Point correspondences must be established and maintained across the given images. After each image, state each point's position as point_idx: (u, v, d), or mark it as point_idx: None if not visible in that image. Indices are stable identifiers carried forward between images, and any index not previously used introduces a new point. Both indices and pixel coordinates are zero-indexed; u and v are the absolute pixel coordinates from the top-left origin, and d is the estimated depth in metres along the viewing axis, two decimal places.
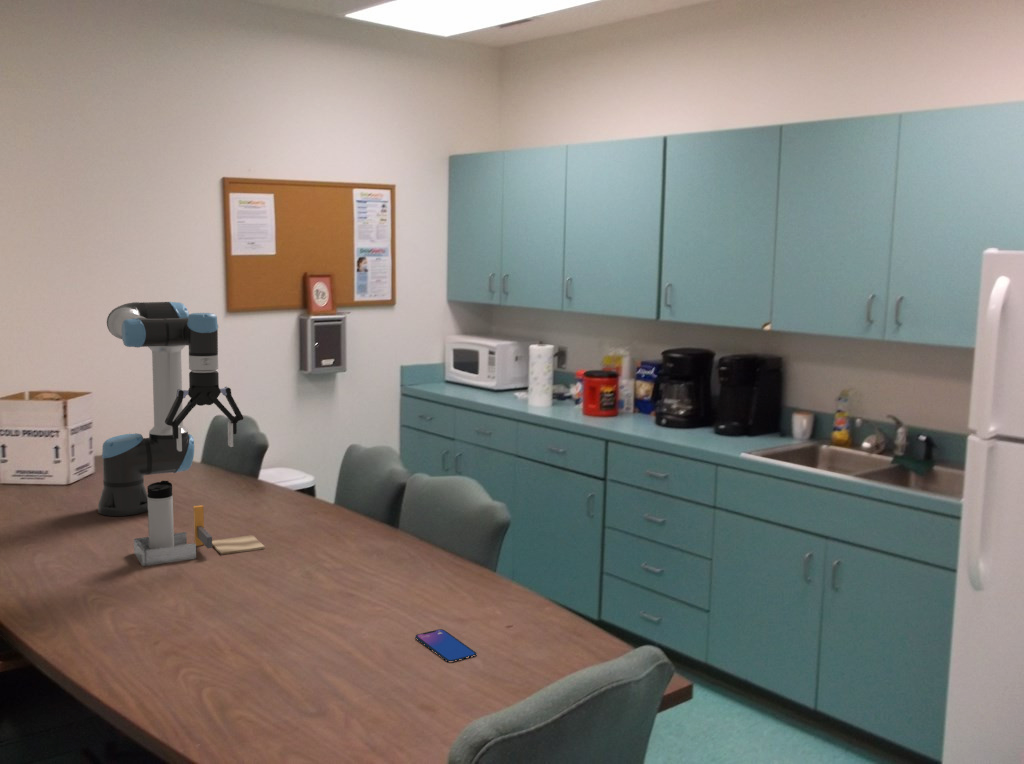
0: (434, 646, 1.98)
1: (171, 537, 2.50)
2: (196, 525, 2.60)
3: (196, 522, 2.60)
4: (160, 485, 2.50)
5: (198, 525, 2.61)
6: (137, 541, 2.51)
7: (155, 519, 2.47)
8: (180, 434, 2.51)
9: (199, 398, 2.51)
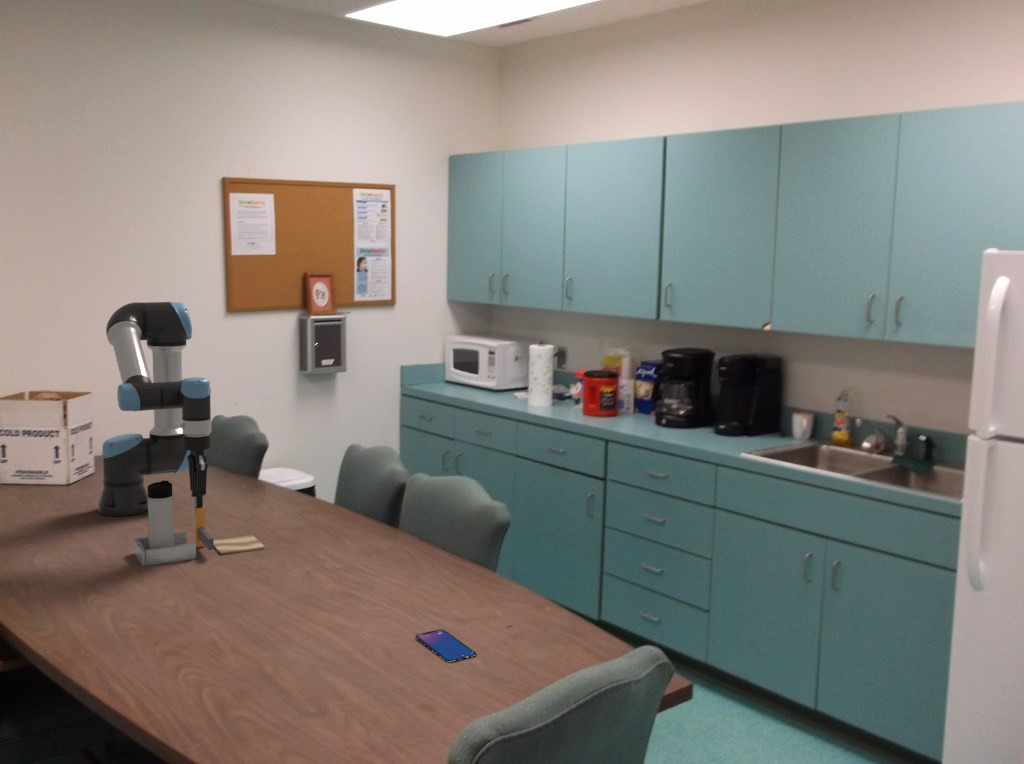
0: (434, 646, 1.98)
1: (171, 537, 2.50)
2: (197, 526, 2.59)
3: (197, 523, 2.59)
4: (160, 485, 2.50)
5: (199, 526, 2.59)
6: (137, 541, 2.51)
7: (155, 519, 2.47)
8: (193, 502, 2.60)
9: (189, 460, 2.59)
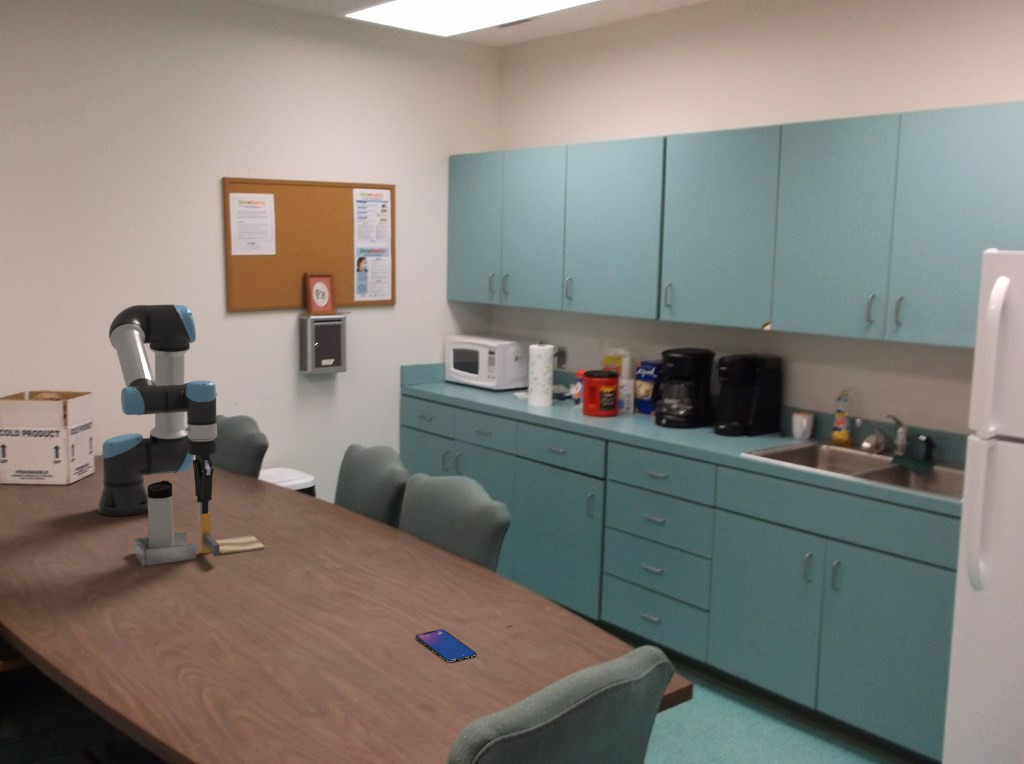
0: (434, 646, 1.98)
1: (171, 537, 2.50)
2: (203, 532, 2.54)
3: (203, 529, 2.54)
4: (160, 485, 2.50)
5: (205, 532, 2.54)
6: (137, 541, 2.51)
7: (155, 519, 2.47)
8: (198, 508, 2.55)
9: (194, 465, 2.54)
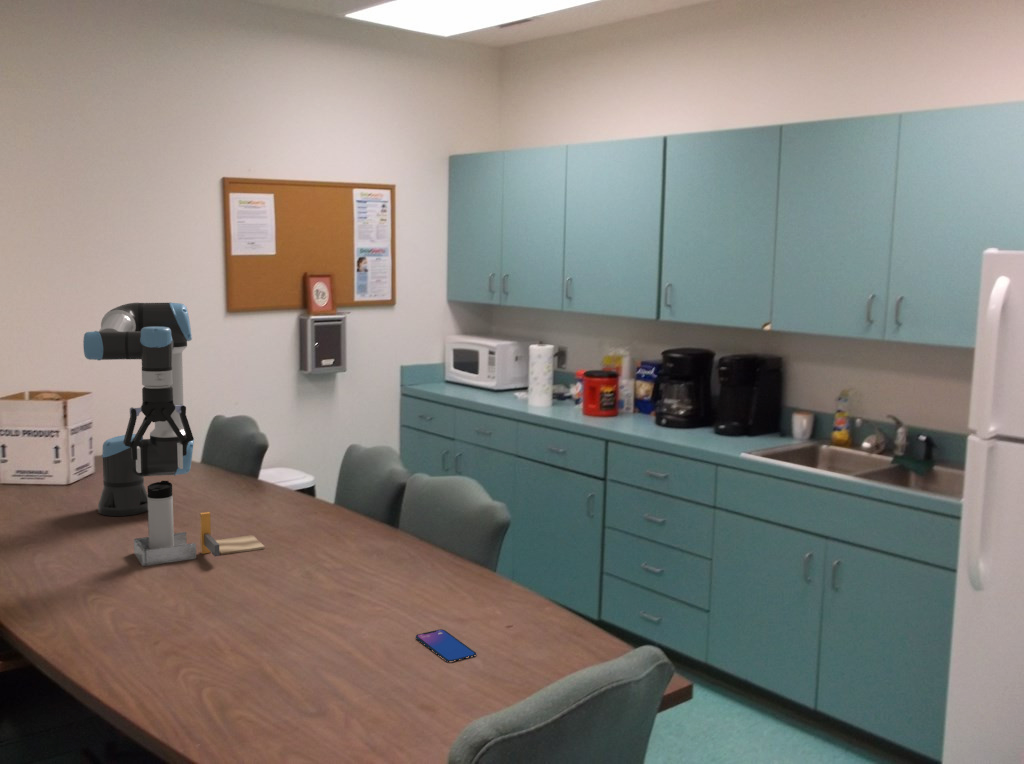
0: (434, 646, 1.98)
1: (171, 537, 2.50)
2: (203, 532, 2.54)
3: (203, 529, 2.54)
4: (160, 485, 2.50)
5: (205, 532, 2.54)
6: (137, 541, 2.51)
7: (155, 519, 2.47)
8: (139, 455, 2.44)
9: (153, 415, 2.44)
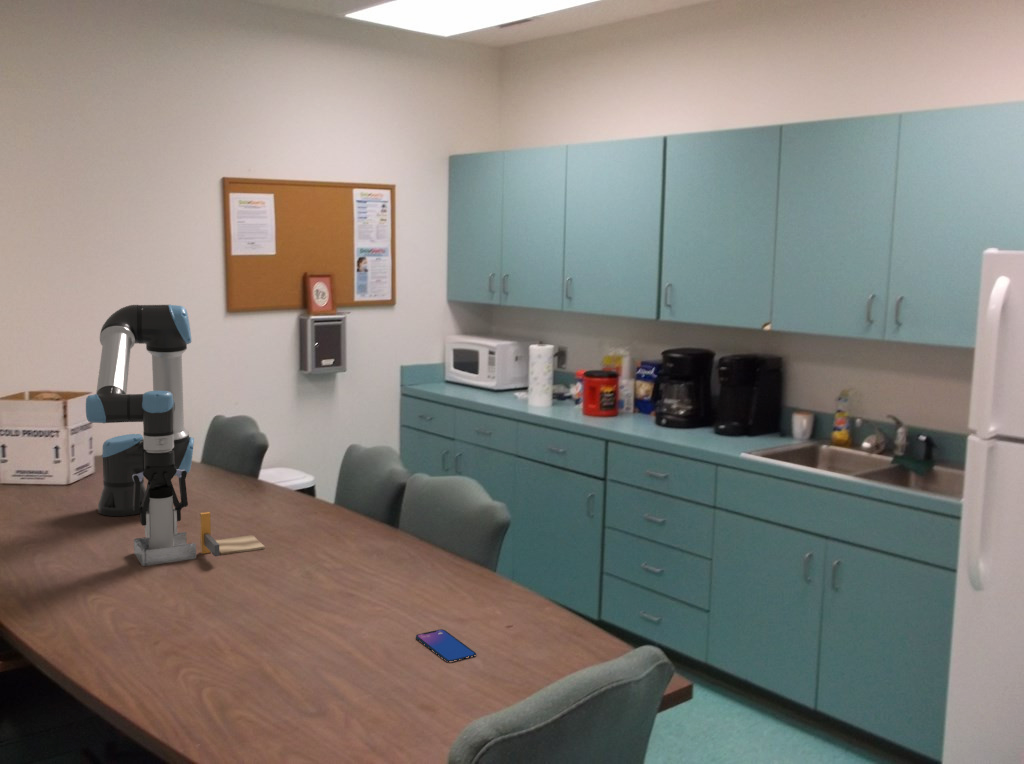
0: (434, 646, 1.98)
1: (171, 537, 2.50)
2: (203, 532, 2.54)
3: (203, 529, 2.54)
4: (160, 485, 2.50)
5: (205, 532, 2.54)
6: (137, 541, 2.51)
7: (155, 519, 2.47)
8: (148, 521, 2.47)
9: (155, 479, 2.46)
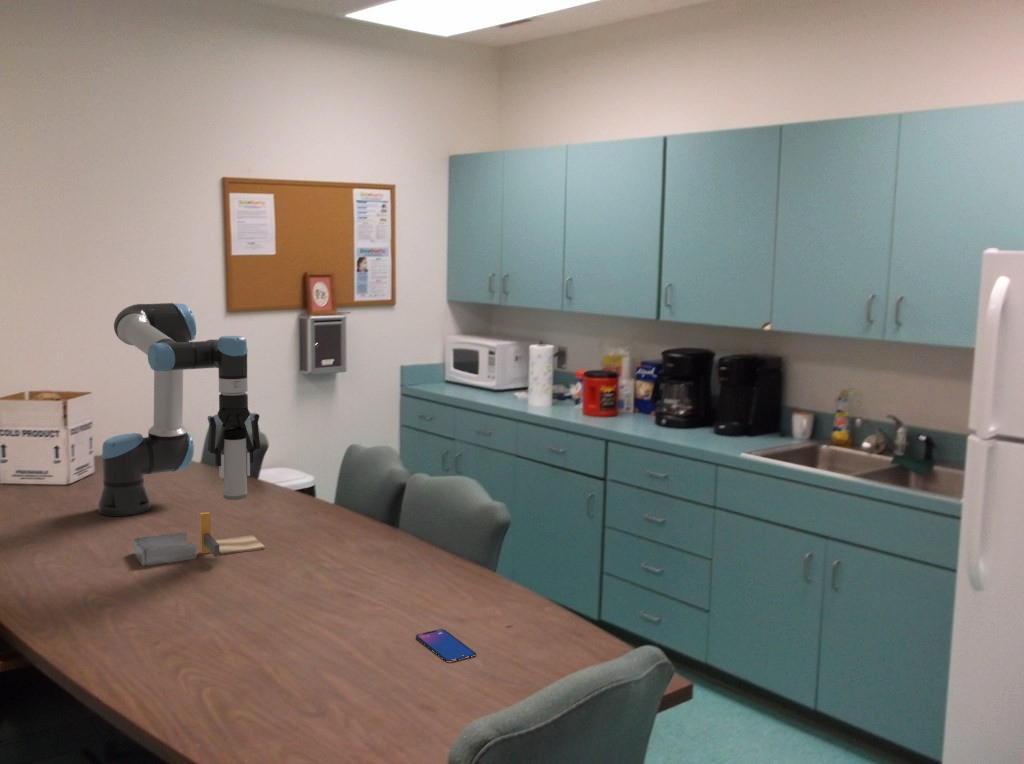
0: (434, 646, 1.98)
1: (245, 478, 2.58)
2: (203, 532, 2.54)
3: (203, 529, 2.54)
4: (234, 428, 2.58)
5: (205, 532, 2.54)
6: (137, 541, 2.51)
7: (230, 460, 2.55)
8: (223, 461, 2.56)
9: (230, 421, 2.55)
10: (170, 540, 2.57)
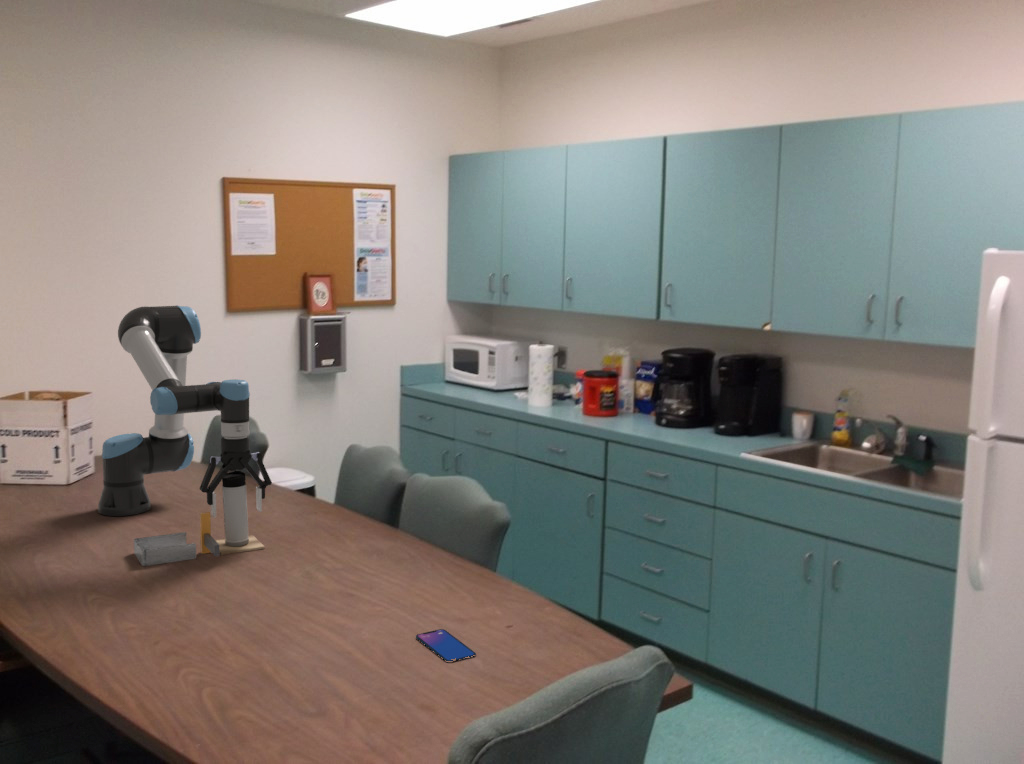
0: (434, 646, 1.98)
1: (246, 524, 2.60)
2: (203, 532, 2.54)
3: (203, 529, 2.54)
4: (233, 475, 2.61)
5: (205, 532, 2.54)
6: (137, 541, 2.51)
7: (230, 507, 2.57)
8: (214, 500, 2.56)
9: (231, 464, 2.56)
10: (170, 540, 2.57)
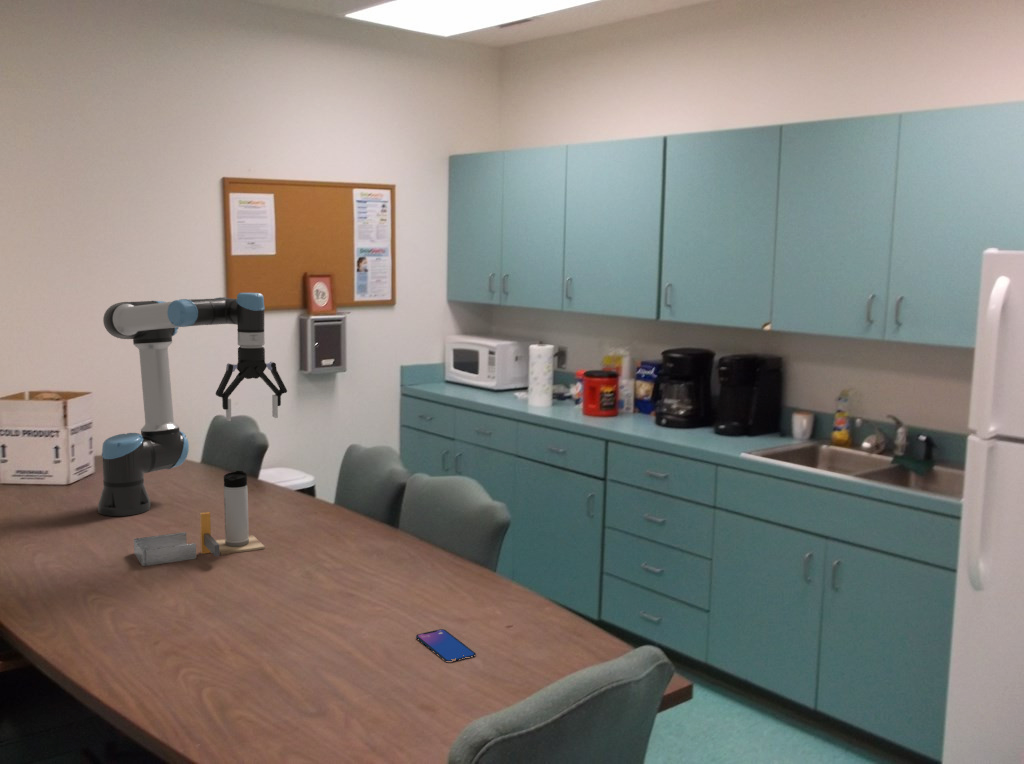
0: (434, 646, 1.98)
1: (246, 525, 2.60)
2: (203, 532, 2.54)
3: (203, 529, 2.54)
4: (235, 475, 2.61)
5: (205, 532, 2.54)
6: (137, 541, 2.51)
7: (231, 507, 2.57)
8: (230, 405, 2.70)
9: (247, 372, 2.71)
10: (170, 540, 2.57)
